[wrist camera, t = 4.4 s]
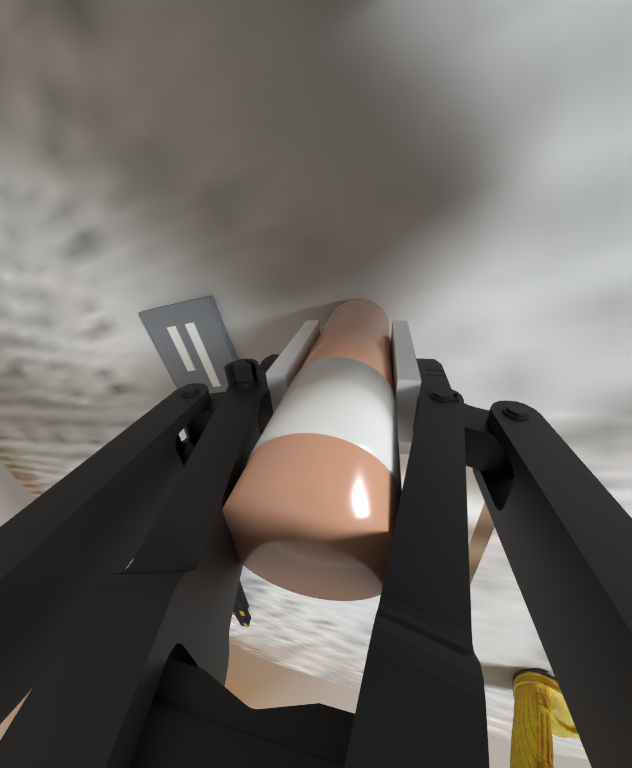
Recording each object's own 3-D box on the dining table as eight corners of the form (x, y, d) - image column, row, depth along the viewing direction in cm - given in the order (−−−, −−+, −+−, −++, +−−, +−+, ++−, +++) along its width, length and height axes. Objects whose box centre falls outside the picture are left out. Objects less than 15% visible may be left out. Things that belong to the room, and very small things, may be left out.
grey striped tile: (144, 310, 21) (137, 313, 20) (212, 295, 19) (206, 297, 18) (189, 400, 24) (185, 404, 24) (250, 394, 23) (247, 398, 22)
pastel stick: (324, 298, 17) (194, 472, 5) (393, 297, 16) (419, 502, 4) (327, 359, 19) (236, 581, 7) (388, 361, 18) (396, 616, 7)
